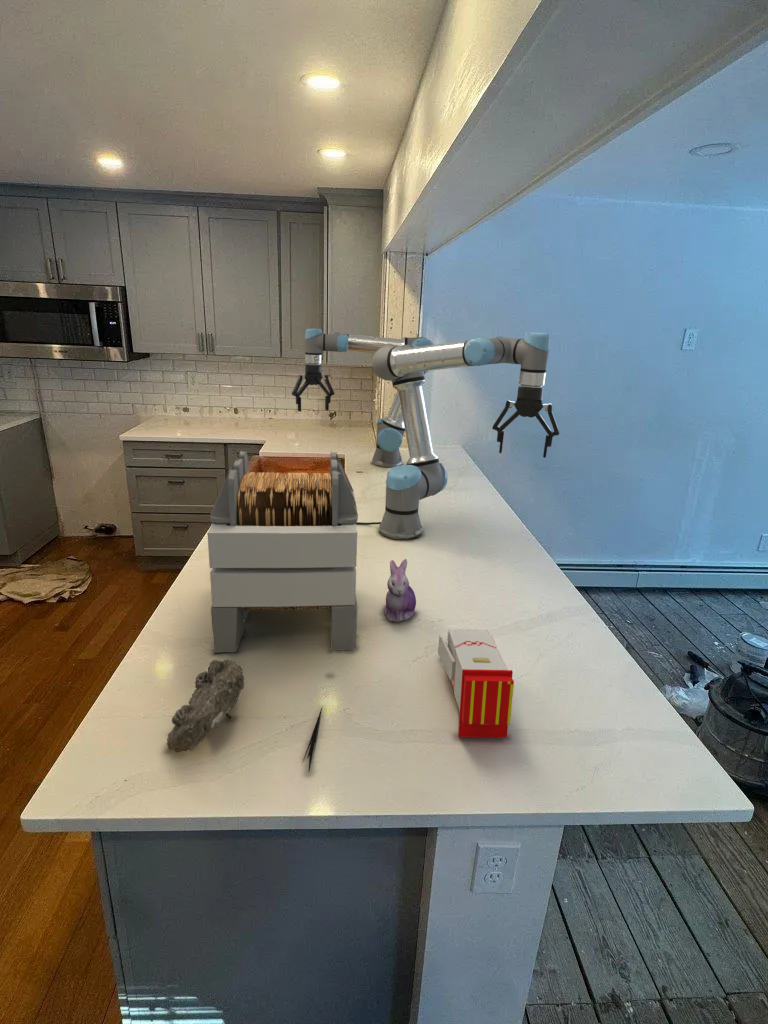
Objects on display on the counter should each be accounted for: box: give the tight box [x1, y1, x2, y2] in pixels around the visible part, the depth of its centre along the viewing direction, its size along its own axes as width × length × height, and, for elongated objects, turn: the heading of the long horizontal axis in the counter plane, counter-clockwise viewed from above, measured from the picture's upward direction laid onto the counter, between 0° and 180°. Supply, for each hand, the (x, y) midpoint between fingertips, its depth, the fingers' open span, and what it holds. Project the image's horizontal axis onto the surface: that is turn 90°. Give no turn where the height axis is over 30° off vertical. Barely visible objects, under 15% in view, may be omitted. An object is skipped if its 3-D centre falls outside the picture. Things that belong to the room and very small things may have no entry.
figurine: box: [384, 558, 417, 623], centre depth 145 cm, size 9×10×15 cm
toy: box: [437, 628, 515, 738], centre depth 117 cm, size 12×13×30 cm
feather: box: [301, 673, 332, 771], centre depth 108 cm, size 2×28×2 cm
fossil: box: [166, 658, 245, 754], centre depth 106 cm, size 22×10×15 cm
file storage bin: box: [206, 450, 359, 654], centre depth 137 cm, size 34×33×41 cm
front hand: (522, 454), depth 179 cm, fingers open, 13 cm apart
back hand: (313, 410), depth 266 cm, fingers open, 13 cm apart
